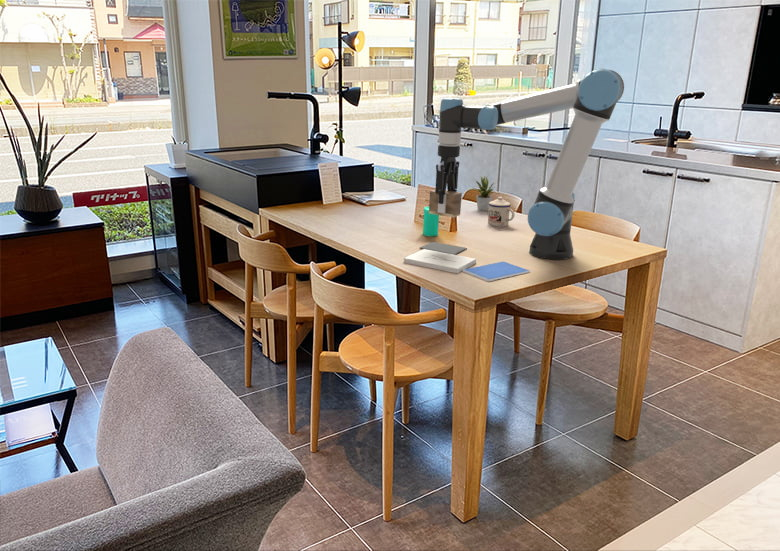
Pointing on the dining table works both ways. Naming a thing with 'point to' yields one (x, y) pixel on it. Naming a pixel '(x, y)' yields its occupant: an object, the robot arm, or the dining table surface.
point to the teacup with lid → (499, 212)
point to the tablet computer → (495, 271)
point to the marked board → (440, 260)
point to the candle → (430, 223)
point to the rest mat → (443, 248)
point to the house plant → (483, 194)
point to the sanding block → (451, 203)
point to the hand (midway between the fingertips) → (445, 211)
